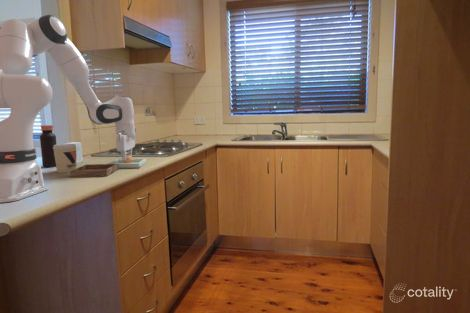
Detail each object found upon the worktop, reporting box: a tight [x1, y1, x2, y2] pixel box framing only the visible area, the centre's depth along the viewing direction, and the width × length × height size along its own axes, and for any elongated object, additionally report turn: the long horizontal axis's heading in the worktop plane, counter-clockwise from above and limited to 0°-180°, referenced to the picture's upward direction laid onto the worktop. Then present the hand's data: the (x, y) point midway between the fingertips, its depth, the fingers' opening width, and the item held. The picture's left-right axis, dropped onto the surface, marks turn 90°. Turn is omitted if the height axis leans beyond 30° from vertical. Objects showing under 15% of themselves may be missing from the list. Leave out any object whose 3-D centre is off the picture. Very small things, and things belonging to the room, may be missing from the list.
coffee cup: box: [53, 143, 77, 174], centre depth 148 cm, size 9×9×12 cm
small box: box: [64, 141, 84, 164], centre depth 171 cm, size 8×6×10 cm
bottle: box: [39, 124, 57, 168], centre depth 161 cm, size 7×7×20 cm
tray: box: [107, 158, 147, 170], centre depth 161 cm, size 15×15×2 cm
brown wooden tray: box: [69, 163, 119, 178], centre depth 144 cm, size 16×15×2 cm
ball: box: [123, 154, 133, 163], centre depth 161 cm, size 4×4×4 cm
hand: (127, 158), depth 161 cm, fingers open, 8 cm apart
